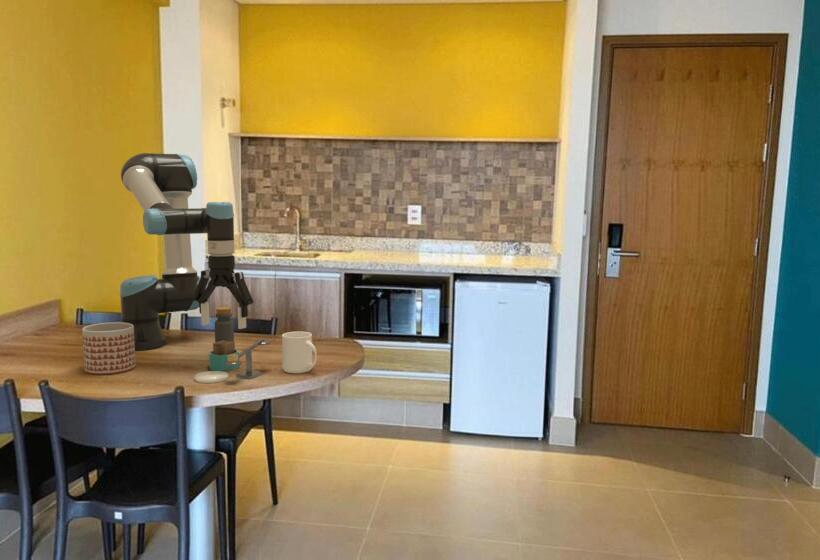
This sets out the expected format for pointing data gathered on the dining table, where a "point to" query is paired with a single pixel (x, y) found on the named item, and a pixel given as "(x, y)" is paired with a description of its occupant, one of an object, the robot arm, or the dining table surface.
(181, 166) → the robot arm
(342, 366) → the dining table surface
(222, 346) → the block
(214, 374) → the dish
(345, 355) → the dining table surface
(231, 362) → the balance
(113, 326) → the planter
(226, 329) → the bottle
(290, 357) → the mug
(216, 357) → the collar
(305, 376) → the dining table surface
